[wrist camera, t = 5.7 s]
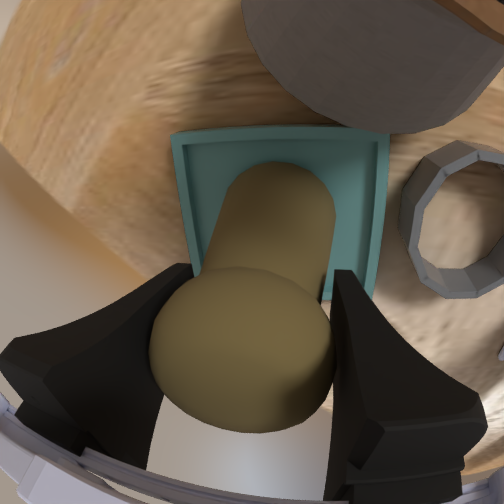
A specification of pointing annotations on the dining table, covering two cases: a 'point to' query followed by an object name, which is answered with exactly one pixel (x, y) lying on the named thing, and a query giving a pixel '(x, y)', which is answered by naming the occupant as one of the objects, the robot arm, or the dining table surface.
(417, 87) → the coffee pot
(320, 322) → the cork
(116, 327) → the robot arm
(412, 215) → the ring
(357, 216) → the tray
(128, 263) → the dining table surface
